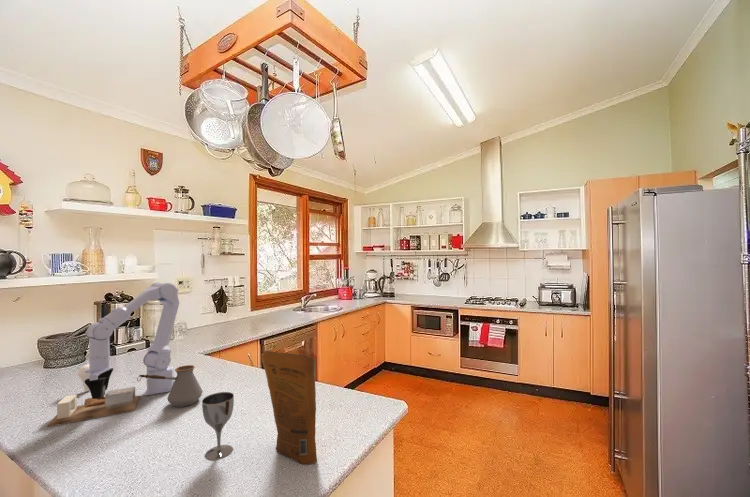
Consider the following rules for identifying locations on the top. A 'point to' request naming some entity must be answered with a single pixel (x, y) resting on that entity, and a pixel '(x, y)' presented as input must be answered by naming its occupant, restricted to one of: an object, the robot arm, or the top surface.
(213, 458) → the wine glass
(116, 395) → the sleeve
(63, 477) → the top surface
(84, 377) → the lightbulb
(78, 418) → the walnut board
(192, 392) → the coffee pot
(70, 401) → the cream rectangular block
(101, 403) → the brown piece
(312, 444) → the pancake mix bag
